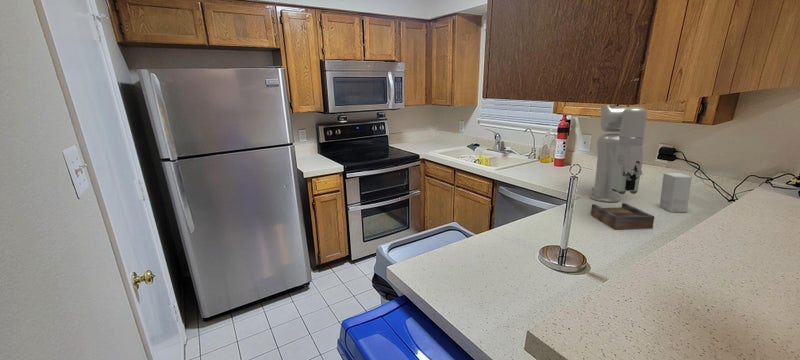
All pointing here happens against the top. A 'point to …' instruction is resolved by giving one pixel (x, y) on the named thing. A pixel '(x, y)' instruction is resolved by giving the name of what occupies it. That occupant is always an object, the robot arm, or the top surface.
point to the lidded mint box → (622, 180)
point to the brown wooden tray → (623, 217)
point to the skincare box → (675, 192)
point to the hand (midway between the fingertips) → (624, 187)
